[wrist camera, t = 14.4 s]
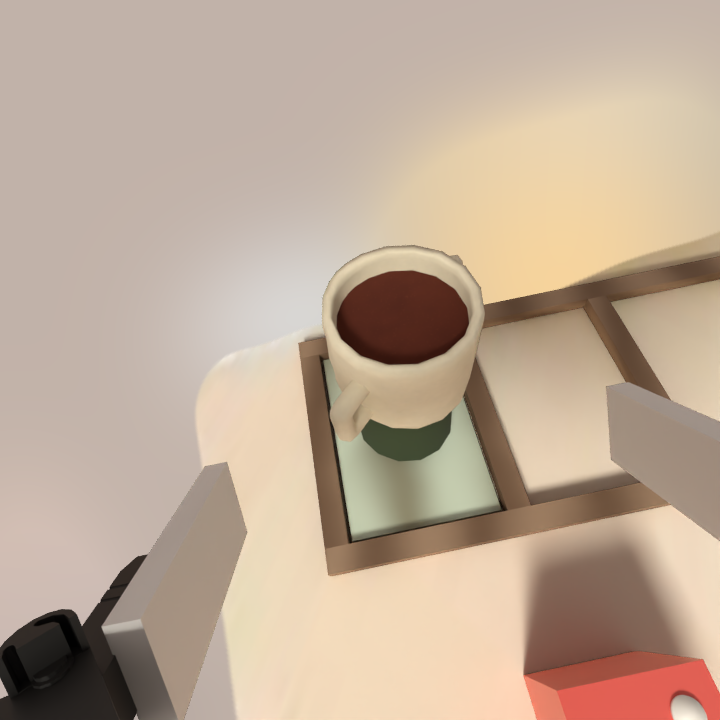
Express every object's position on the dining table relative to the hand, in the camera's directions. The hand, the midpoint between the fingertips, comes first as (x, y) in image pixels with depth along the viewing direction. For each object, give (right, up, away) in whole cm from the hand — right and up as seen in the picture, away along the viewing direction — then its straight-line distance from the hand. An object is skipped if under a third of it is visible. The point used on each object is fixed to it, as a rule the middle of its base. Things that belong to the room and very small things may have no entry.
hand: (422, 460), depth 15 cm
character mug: (+1, -1, +15) cm, 15 cm away
